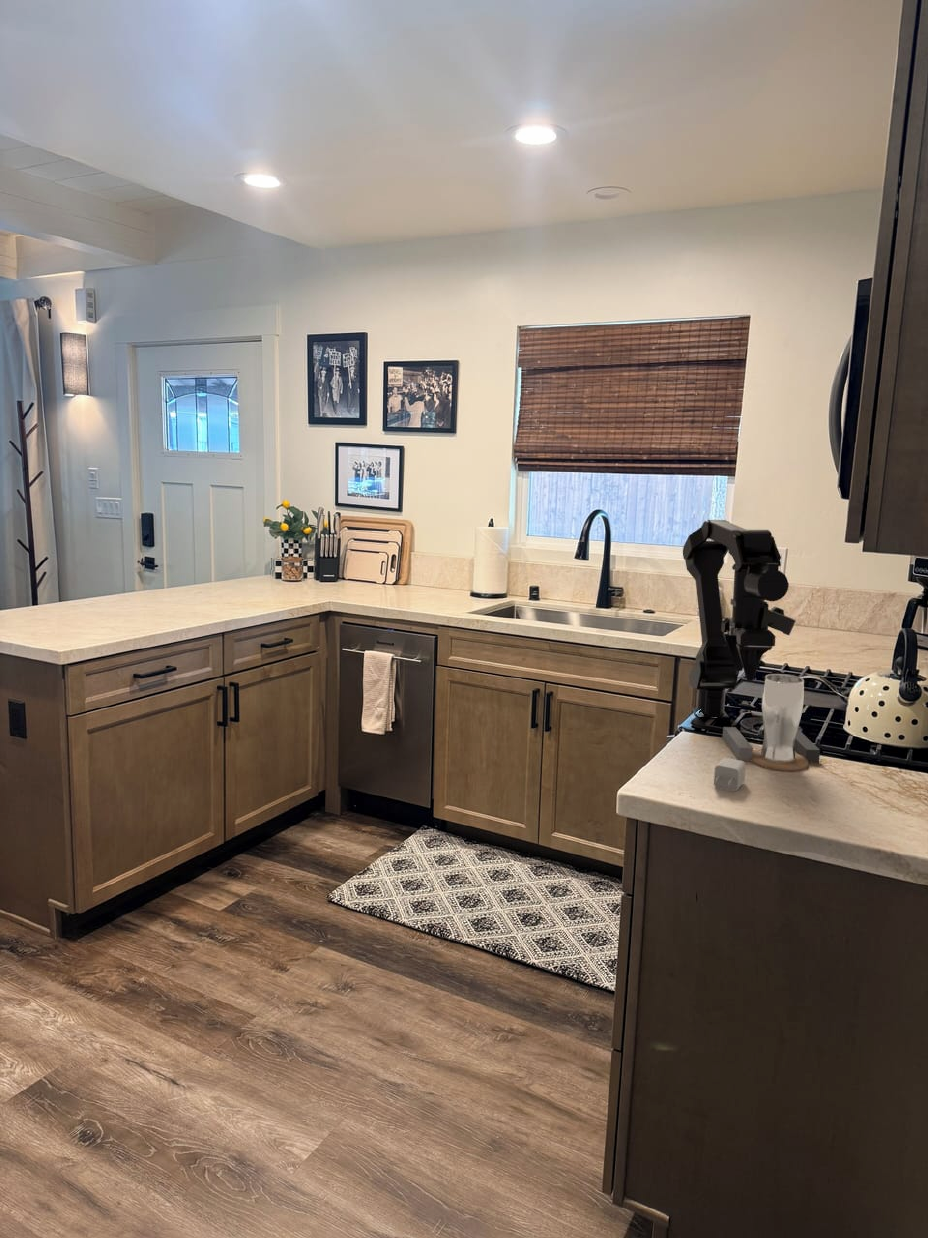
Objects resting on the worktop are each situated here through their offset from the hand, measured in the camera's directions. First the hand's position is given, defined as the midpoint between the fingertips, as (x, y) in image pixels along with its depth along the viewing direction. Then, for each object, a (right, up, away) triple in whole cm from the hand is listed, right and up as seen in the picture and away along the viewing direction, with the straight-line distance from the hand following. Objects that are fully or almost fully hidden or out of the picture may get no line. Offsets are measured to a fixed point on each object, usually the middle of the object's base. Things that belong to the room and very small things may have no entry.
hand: (744, 675), depth 161 cm
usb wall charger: (-10, -18, -22) cm, 30 cm away
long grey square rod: (+9, -14, -4) cm, 17 cm away
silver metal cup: (+3, -15, -9) cm, 18 cm away
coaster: (+3, -15, -9) cm, 18 cm away
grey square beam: (-3, -14, -3) cm, 14 cm away
